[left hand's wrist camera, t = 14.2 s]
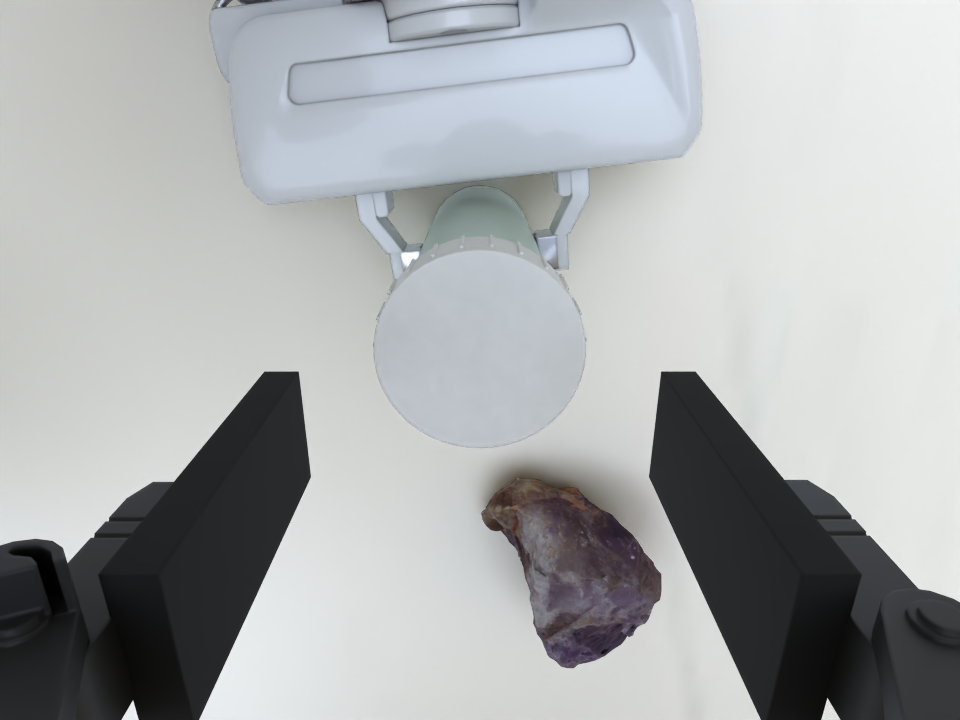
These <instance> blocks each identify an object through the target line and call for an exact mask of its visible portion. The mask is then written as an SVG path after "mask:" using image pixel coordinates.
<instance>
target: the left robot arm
mask: <svg viewBox="0 0 960 720" xmlns="http://www.w3.org/2000/svg"><path fill="white" fill-rule="evenodd" d="M310 478H311V474H310V465H309V457H308V448H307V439H306V431H305V422H304V414H303V405H302V396H301V388H300V379H299V372H264V373H263V374H262V375H261V377H260V378H259V379H258V380H257V382H256V383H255V384H254V385H253V386H252V388H251V389H250V390H249V391H248V393H247V394H246V395H245V396H244V397H243V399H242V400H241V401H240V402H239V403H238V405H237V406H236V407H235V408H234V410H233V411H232V412H231V413H230V414H229V416H228V417H227V418H226V419H225V421H224V422H223V423H222V424H221V425H220V427H219V428H218V429H217V430H216V431H215V433H214V434H213V435H212V436H211V438H210V439H209V440H208V441H207V442H206V444H205V445H204V446H203V447H202V448H201V450H200V451H199V452H198V453H197V455H196V456H195V457H194V458H193V459H192V461H191V462H190V463H189V464H188V466H187V467H186V468H185V469H184V470H183V472H182V473H181V474H180V475H179V476H178V478H177V479H176V480H175V481H174V482H152V483H151V484H149V485H148V486H146V487H144V488H143V489H141V490H140V491H138V492H136V493H135V494H133V495H131V496H130V497H128V498H127V499H126V500H125V501H124V502H123V503H122V504H121V505H120V506H119V507H118V509H117V510H116V511H115V512H114V513H113V514H112V515H111V516H110V517H109V522H105V523H104V524H103V525H102V526H101V527H100V528H99V530H98V531H97V532H96V533H95V536H94V538H90V539H89V541H88V542H87V543H86V544H85V545H84V546H83V547H82V548H81V549H80V550H79V552H78V553H77V554H76V555H75V556H74V557H73V558H72V559H71V560H70V561H69V563H68V564H67V560H66V557H65V554H64V550H63V548H62V547H61V546H59V545H58V544H56V543H55V542H53V541H48V540H40V539H31V540H23V541H15V542H11V543H7V544H4V545H1V546H0V720H121V719H122V718H123V716H124V714H125V713H126V711H127V709H128V708H129V706H130V704H131V702H132V701H134V704H135V708H136V711H137V715H138V718H139V720H199V719H200V716H201V714H202V712H203V710H204V708H205V706H206V703H207V701H208V699H209V697H210V695H211V693H212V690H213V688H214V686H215V684H216V682H217V680H218V677H219V675H220V673H221V671H222V669H223V667H224V664H225V662H226V660H227V658H228V656H229V653H230V651H231V649H232V647H233V645H234V643H235V640H236V638H237V636H238V634H239V632H240V630H241V627H242V625H243V623H244V621H245V619H246V617H247V614H248V612H249V610H250V608H251V606H252V604H253V601H254V599H255V597H256V595H257V593H258V591H259V588H260V586H261V584H262V582H263V580H264V578H265V575H266V573H267V571H268V569H269V567H270V564H271V562H272V560H273V558H274V556H275V554H276V551H277V549H278V547H279V545H280V543H281V541H282V538H283V536H284V534H285V532H286V530H287V528H288V525H289V523H290V521H291V519H292V517H293V515H294V512H295V510H296V508H297V506H298V504H299V502H300V499H301V497H302V495H303V493H304V491H305V488H306V486H307V484H308V482H309V480H310ZM649 478H650V480H651V482H652V484H653V486H654V488H655V491H656V493H657V495H658V497H659V499H660V502H661V504H662V506H663V508H664V510H665V512H666V515H667V517H668V519H669V521H670V523H671V525H672V528H673V530H674V532H675V534H676V536H677V538H678V541H679V543H680V545H681V547H682V549H683V551H684V554H685V556H686V558H687V560H688V562H689V564H690V567H691V569H692V571H693V573H694V575H695V578H696V580H697V582H698V584H699V586H700V588H701V591H702V593H703V595H704V597H705V599H706V601H707V604H708V606H709V608H710V610H711V612H712V614H713V617H714V619H715V621H716V623H717V625H718V627H719V630H720V632H721V634H722V636H723V638H724V640H725V643H726V645H727V647H728V649H729V651H730V653H731V656H732V658H733V660H734V662H735V664H736V667H737V669H738V671H739V673H740V675H741V677H742V680H743V682H744V684H745V686H746V688H747V690H748V693H749V695H750V697H751V699H752V701H753V703H754V706H755V708H756V710H757V712H758V714H759V716H760V719H761V720H821V718H822V715H823V711H824V708H825V704H826V701H827V698H828V699H829V701H830V703H831V704H832V706H833V708H834V709H835V711H836V713H837V715H838V716H839V718H840V720H960V602H958V601H956V600H954V599H952V598H949V597H946V596H943V595H940V594H938V593H935V592H932V591H927V590H920V589H918V588H917V587H916V586H915V585H914V584H913V582H912V581H911V580H910V579H909V578H908V577H907V576H906V575H905V574H904V573H903V572H902V570H901V569H900V568H899V567H898V566H897V565H896V564H895V563H894V562H893V561H892V560H891V558H890V557H889V556H888V555H887V554H886V553H885V552H884V551H883V550H882V549H881V548H880V546H879V545H878V544H877V543H876V542H875V541H874V540H873V539H872V538H871V537H870V536H867V535H866V531H865V530H864V529H863V528H862V527H861V526H860V525H859V523H858V522H857V521H856V520H855V519H852V518H851V515H850V514H849V513H848V511H847V510H846V509H845V508H844V507H843V506H842V505H841V504H840V503H839V502H838V500H837V499H836V498H835V497H834V496H832V495H831V494H829V493H827V492H826V491H824V490H823V489H821V488H819V487H818V486H816V485H815V484H813V483H811V482H810V481H808V480H784V479H783V478H782V476H781V475H780V474H779V473H778V472H777V470H776V469H775V468H774V467H773V466H772V464H771V463H770V462H769V461H768V459H767V458H766V457H765V456H764V455H763V453H762V452H761V451H760V450H759V448H758V447H757V446H756V445H755V444H754V442H753V441H752V440H751V439H750V438H749V436H748V435H747V434H746V433H745V431H744V430H743V429H742V428H741V427H740V425H739V424H738V423H737V422H736V421H735V419H734V418H733V417H732V416H731V414H730V413H729V412H728V411H727V410H726V408H725V407H724V406H723V405H722V403H721V402H720V401H719V400H718V399H717V397H716V396H715V395H714V394H713V393H712V391H711V390H710V389H709V388H708V386H707V385H706V384H705V383H704V382H703V380H702V379H701V378H700V377H699V375H698V374H697V373H696V372H661V379H660V388H659V396H658V405H657V414H656V422H655V431H654V439H653V448H652V457H651V465H650V474H649Z"/></svg>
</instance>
